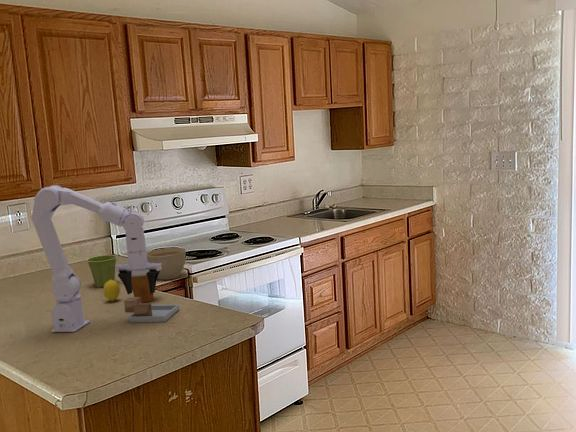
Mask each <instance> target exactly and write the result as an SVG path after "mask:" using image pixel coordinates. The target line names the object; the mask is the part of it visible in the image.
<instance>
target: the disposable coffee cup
mask: <svg viewBox="0 0 576 432" xmlns="http://www.w3.org/2000/svg"><path fill="white" fill-rule="evenodd" d="M147 272H149V270H148V271H132V275H131V282H132V295H133V297H140V298H141V304H143V303H150V302H152V301H153V300H154V295H155V294H154V293H155V292H154V293H153V294H150V288H149V281H148V277H147V274H146V273H147Z"/></svg>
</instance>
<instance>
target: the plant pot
mask: <svg viewBox="0 0 576 432" xmlns="http://www.w3.org/2000/svg"><path fill="white" fill-rule="evenodd" d="M117 258H118V255H115V254H102V255H101V254H100V255H97V256H96V255H95V256H91V257H89V258H87V259H86V260H85V261H86V262H87V264H88V266H89V268H90V272H91V275H92V278H93V281H94V286H95V287H96V288H102V287H103V288H104V285H105V283H106V282H108V281H109V280H113V281H115V280H116V279H115V277H116V275H115V274H116V268H115V266H116V262H117Z"/></svg>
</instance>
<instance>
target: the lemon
mask: <svg viewBox="0 0 576 432" xmlns="http://www.w3.org/2000/svg"><path fill="white" fill-rule="evenodd" d="M120 291H121V289H120V285H119V284H118V282H117V281H116V280H114V281H113V280H109V281H108V282H106V283H105V285H104V287H103V294H104V295H103V296H104V297H105V298H106V299H107V300H109V301H111V302H114V301H115V300H116V299H118V298H119V296H120Z"/></svg>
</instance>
